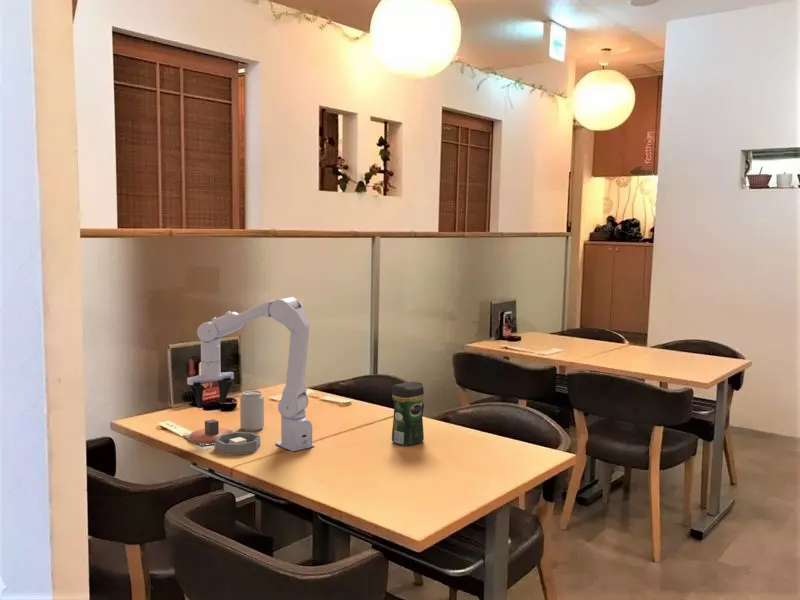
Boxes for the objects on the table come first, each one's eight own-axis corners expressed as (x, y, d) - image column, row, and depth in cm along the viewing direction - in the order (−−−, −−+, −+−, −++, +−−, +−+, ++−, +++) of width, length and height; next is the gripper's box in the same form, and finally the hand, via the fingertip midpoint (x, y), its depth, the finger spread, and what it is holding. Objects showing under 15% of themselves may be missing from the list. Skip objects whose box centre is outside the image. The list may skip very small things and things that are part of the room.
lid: (241, 437, 213) (241, 421, 212) (202, 445, 204) (202, 429, 204) (220, 428, 222) (220, 413, 222) (182, 435, 213) (182, 420, 213)
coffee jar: (410, 436, 219) (411, 378, 217) (427, 442, 213) (428, 382, 211) (386, 442, 212) (387, 382, 210) (404, 448, 206) (405, 386, 205)
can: (250, 433, 219) (250, 395, 218) (235, 428, 224) (235, 392, 222) (268, 428, 225) (268, 391, 224) (253, 424, 229) (253, 388, 228)
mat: (238, 438, 213) (238, 436, 213) (202, 446, 205) (202, 444, 205) (219, 430, 222) (219, 428, 222) (183, 437, 213) (183, 435, 213)
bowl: (266, 448, 204) (266, 438, 203) (230, 457, 195) (230, 447, 195) (245, 439, 212) (245, 429, 212) (209, 447, 204) (209, 437, 204)
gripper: (225, 356, 219) (225, 398, 220) (182, 361, 209) (182, 406, 210) (237, 359, 214) (237, 402, 215) (193, 365, 204) (193, 410, 205)
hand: (211, 404), depth 212 cm, fingers open, 7 cm apart
